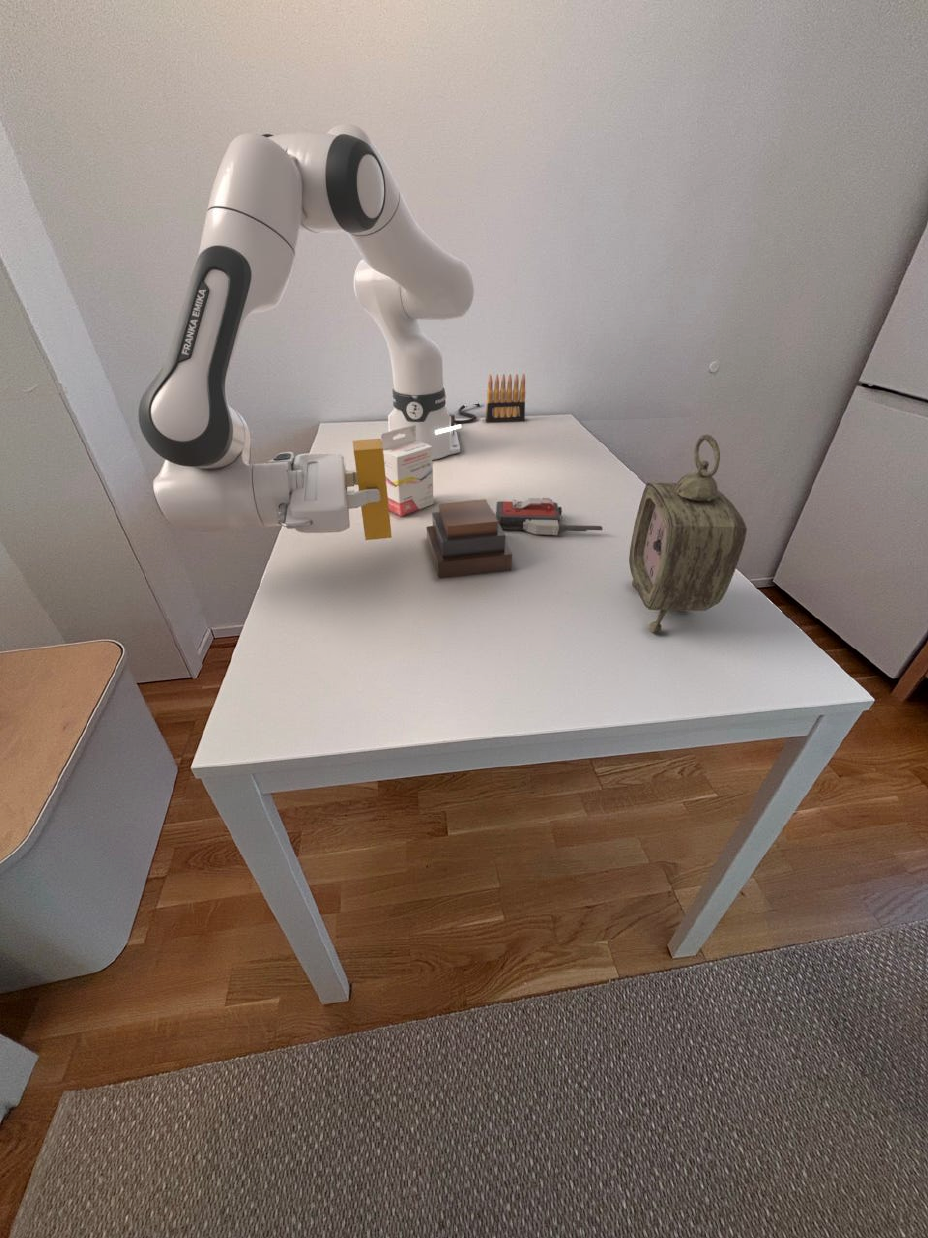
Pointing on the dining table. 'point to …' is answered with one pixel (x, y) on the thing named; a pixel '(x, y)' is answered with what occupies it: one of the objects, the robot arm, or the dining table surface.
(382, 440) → the ink cartridge box
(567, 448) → the dining table surface
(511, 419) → the ammunition clip
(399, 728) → the dining table surface
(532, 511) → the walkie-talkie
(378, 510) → the bar
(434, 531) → the stacked square slabs
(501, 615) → the dining table surface
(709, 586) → the tabletop clock
